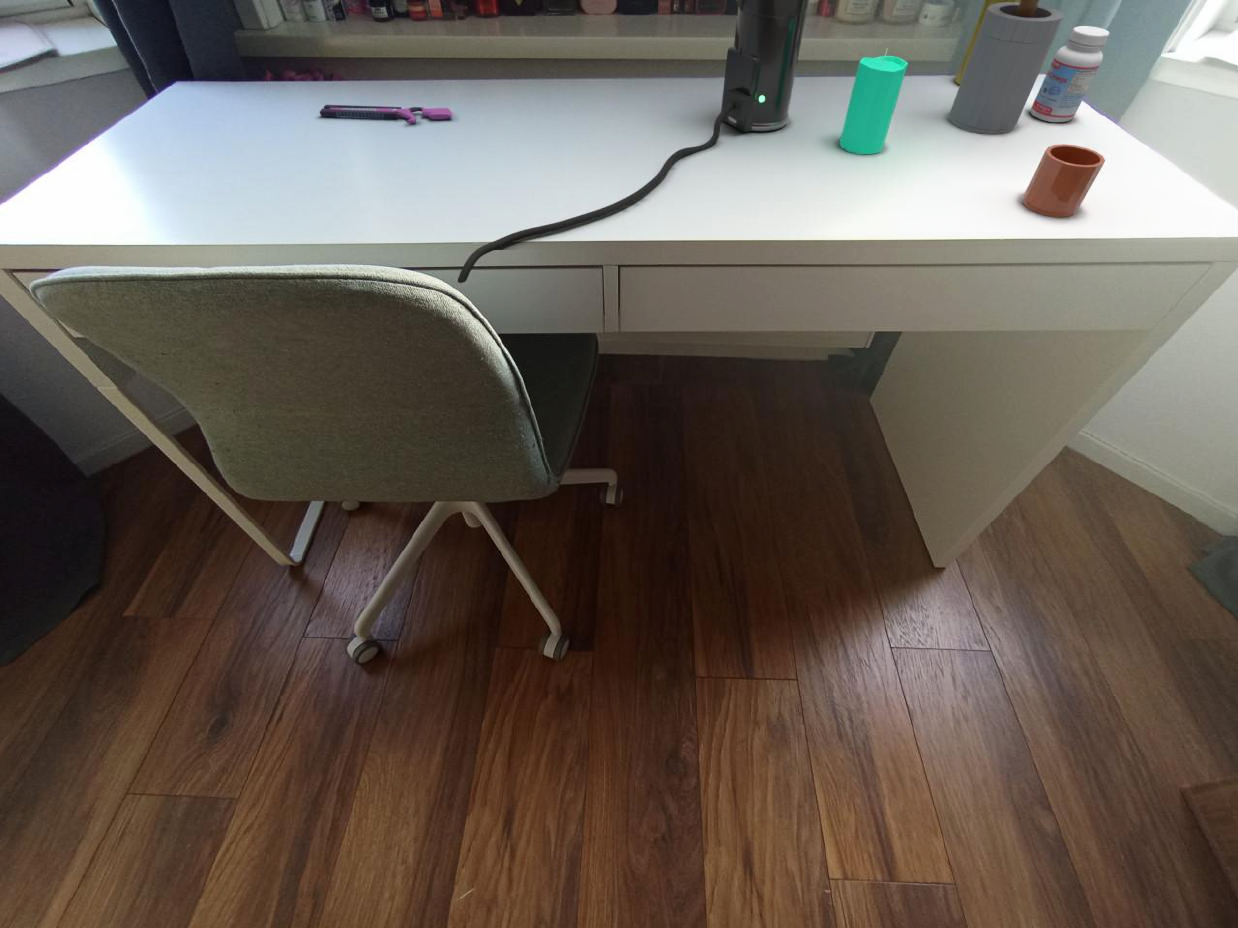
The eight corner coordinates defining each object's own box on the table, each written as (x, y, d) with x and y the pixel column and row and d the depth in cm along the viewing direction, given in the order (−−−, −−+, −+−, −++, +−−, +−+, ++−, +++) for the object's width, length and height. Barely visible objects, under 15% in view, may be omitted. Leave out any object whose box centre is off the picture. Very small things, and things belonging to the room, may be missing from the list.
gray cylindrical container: (986, 139, 92) (1033, 25, 81) (935, 117, 97) (973, 8, 87) (1028, 126, 95) (1078, 14, 84) (976, 106, 100) (1017, -1, 90)
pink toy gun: (455, 106, 98) (447, 120, 95) (456, 112, 98) (448, 127, 95) (326, 102, 99) (314, 116, 96) (328, 108, 100) (316, 122, 97)
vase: (995, 90, 105) (1038, -16, 94) (956, 88, 106) (994, -18, 95) (989, 78, 109) (1029, -25, 98) (951, 75, 110) (987, -27, 99)
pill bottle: (1021, 109, 99) (1058, 25, 91) (1058, 108, 100) (1099, 23, 91) (1042, 124, 95) (1082, 37, 87) (1080, 123, 96) (1125, 36, 87)
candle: (884, 140, 92) (912, 44, 83) (881, 157, 88) (910, 58, 79) (841, 135, 93) (865, 39, 84) (837, 151, 89) (861, 53, 80)
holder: (1056, 222, 76) (1083, 171, 71) (1011, 201, 79) (1034, 151, 75) (1087, 209, 78) (1116, 159, 73) (1042, 189, 81) (1067, 140, 77)
